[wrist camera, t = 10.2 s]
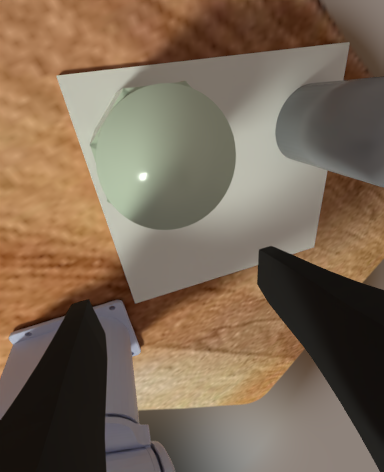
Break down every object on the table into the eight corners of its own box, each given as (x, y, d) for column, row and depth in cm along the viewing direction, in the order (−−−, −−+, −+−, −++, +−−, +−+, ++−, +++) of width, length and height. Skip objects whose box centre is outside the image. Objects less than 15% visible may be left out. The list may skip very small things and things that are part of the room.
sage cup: (113, 188, 17) (118, 244, 10) (86, 97, 14) (70, 92, 7) (188, 173, 18) (237, 214, 12) (178, 86, 15) (235, 73, 9)
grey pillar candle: (273, 165, 20) (356, 197, 13) (277, 88, 17) (386, 79, 11) (328, 153, 21) (430, 176, 15) (341, 78, 18) (476, 65, 12)
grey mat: (134, 300, 23) (135, 303, 23) (57, 76, 14) (56, 75, 13) (311, 245, 27) (313, 247, 27) (345, 43, 18) (350, 41, 17)
